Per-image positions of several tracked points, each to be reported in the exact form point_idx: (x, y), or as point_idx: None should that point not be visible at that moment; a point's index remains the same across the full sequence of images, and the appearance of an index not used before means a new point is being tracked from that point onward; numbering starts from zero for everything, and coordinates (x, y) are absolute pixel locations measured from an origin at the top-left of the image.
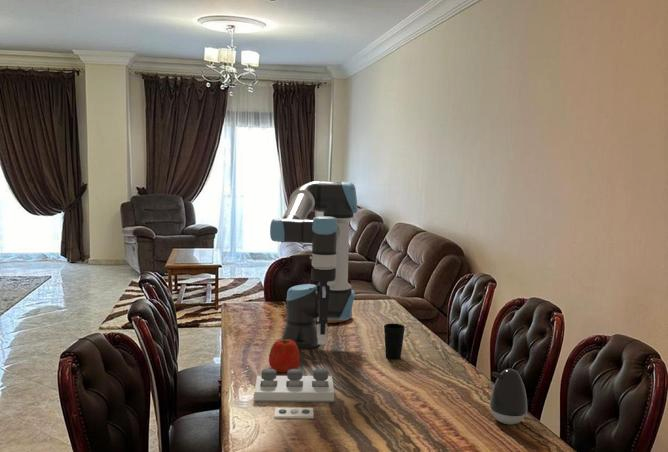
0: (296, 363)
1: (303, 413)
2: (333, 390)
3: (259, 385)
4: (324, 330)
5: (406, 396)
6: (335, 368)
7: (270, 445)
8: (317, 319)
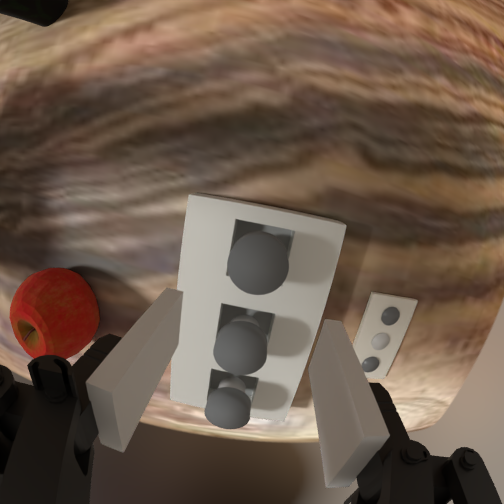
0: (79, 286)
1: (395, 321)
2: (328, 223)
3: None
4: (393, 411)
5: (326, 9)
6: (73, 156)
7: (464, 378)
8: (128, 439)
